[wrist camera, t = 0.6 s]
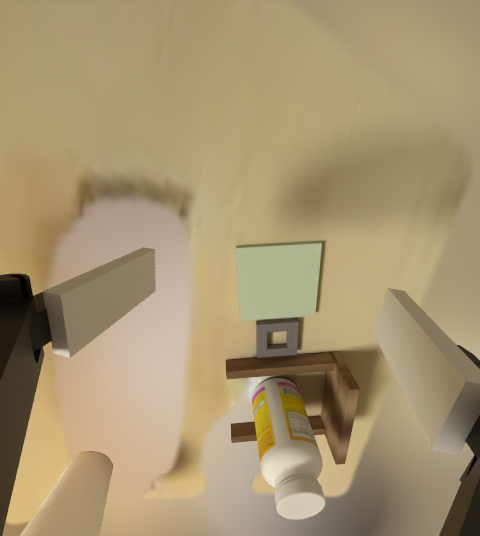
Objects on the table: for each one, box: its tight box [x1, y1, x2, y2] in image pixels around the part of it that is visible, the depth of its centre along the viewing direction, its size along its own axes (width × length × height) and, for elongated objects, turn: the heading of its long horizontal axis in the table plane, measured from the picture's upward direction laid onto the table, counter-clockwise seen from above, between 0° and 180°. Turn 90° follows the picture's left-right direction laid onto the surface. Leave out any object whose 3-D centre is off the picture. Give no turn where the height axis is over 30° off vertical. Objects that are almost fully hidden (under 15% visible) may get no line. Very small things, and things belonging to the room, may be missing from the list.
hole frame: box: [256, 318, 299, 358], centre depth 32 cm, size 5×5×1 cm
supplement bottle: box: [252, 378, 325, 519], centre depth 30 cm, size 7×7×13 cm
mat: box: [236, 242, 322, 321], centre depth 29 cm, size 9×9×1 cm
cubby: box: [226, 351, 360, 464], centre depth 33 cm, size 13×15×6 cm
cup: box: [20, 451, 113, 536], centre depth 34 cm, size 10×10×11 cm
